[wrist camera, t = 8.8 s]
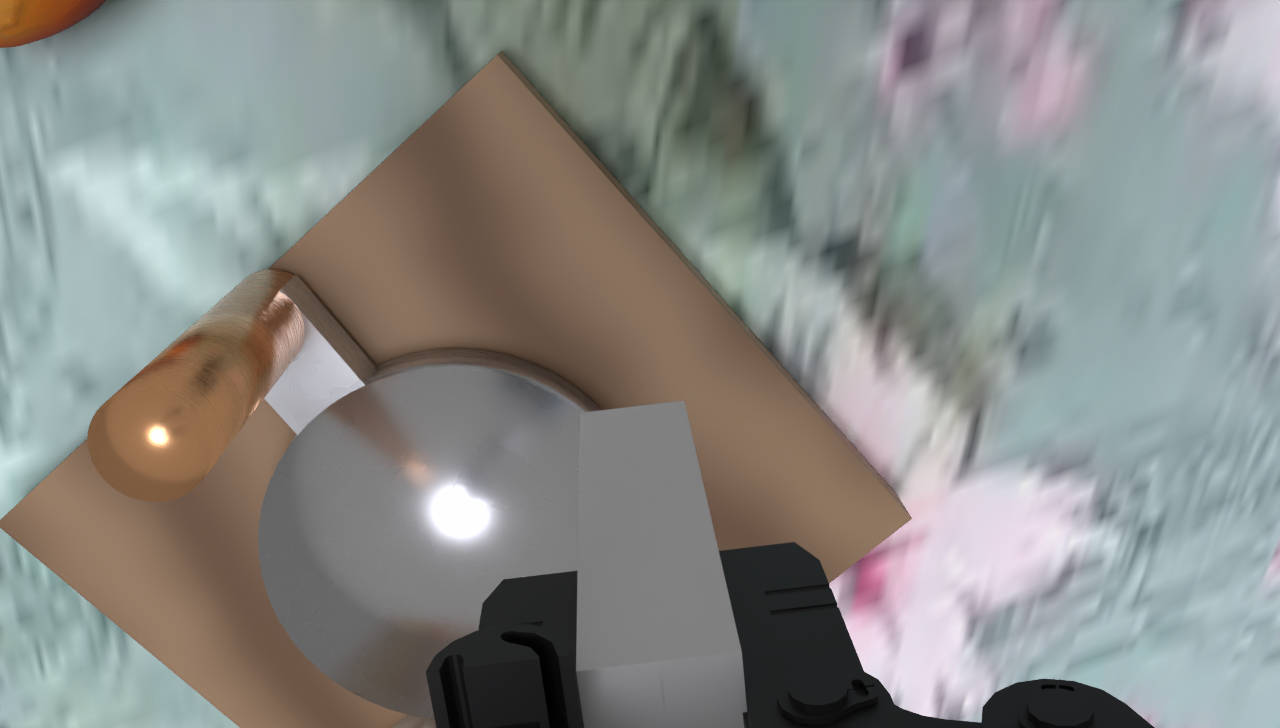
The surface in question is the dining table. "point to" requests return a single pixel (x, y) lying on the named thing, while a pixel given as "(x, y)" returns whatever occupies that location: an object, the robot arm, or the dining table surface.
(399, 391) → the cam disc
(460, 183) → the board
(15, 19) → the fruit
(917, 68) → the dining table surface
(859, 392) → the dining table surface
